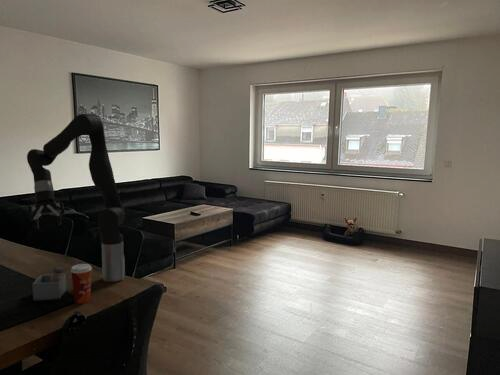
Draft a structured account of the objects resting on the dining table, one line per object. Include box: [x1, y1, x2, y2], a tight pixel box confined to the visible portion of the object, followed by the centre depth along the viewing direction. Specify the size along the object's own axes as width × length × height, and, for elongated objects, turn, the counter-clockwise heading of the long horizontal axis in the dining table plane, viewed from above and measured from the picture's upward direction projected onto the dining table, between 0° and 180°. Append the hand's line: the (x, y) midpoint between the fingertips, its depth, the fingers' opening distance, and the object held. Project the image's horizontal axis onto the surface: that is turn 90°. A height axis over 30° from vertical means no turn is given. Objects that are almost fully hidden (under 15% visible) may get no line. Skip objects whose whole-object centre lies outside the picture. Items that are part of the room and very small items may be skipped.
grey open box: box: [31, 273, 67, 302], centre depth 149 cm, size 9×9×7 cm
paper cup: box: [70, 263, 93, 304], centre depth 144 cm, size 8×8×14 cm
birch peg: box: [50, 266, 64, 282], centre depth 149 cm, size 4×4×10 cm
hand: (48, 226), depth 164 cm, fingers open, 8 cm apart
